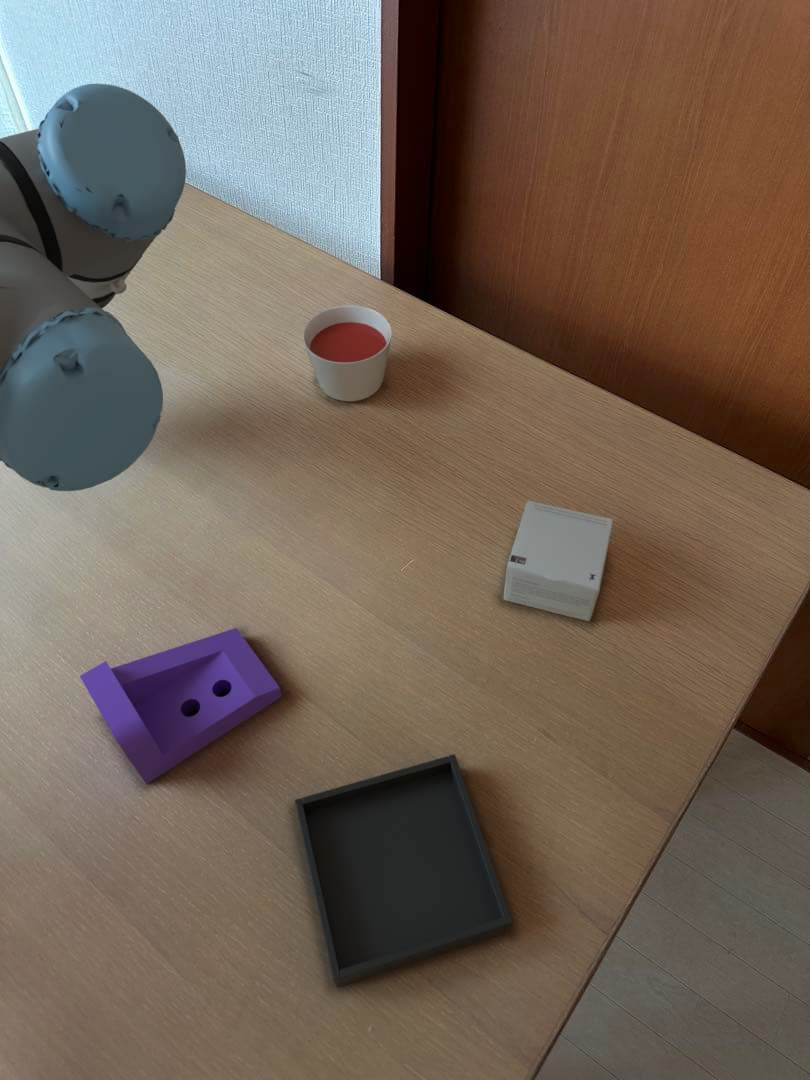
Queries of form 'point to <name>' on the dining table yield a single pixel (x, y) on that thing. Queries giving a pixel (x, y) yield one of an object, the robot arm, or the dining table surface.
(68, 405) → the robot arm
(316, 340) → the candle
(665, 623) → the dining table surface
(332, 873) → the black tray
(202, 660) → the bracket
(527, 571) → the small box
